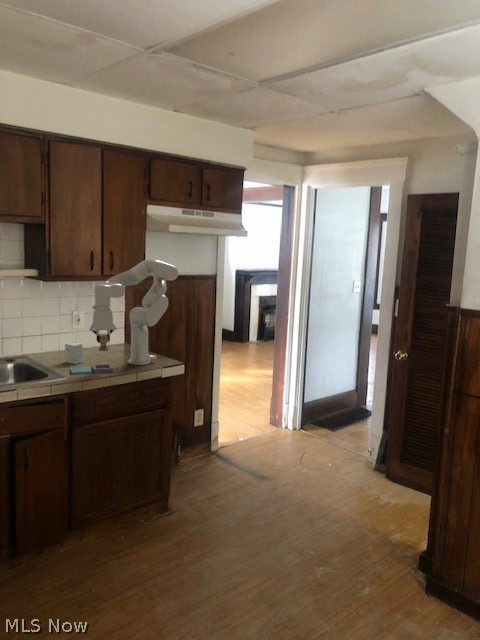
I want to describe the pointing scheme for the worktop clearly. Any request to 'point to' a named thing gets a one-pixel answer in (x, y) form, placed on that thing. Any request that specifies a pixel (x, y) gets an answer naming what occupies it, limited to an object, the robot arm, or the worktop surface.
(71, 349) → the small box
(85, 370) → the tile
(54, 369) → the worktop surface
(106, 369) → the socket
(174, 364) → the worktop surface
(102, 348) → the t-key
